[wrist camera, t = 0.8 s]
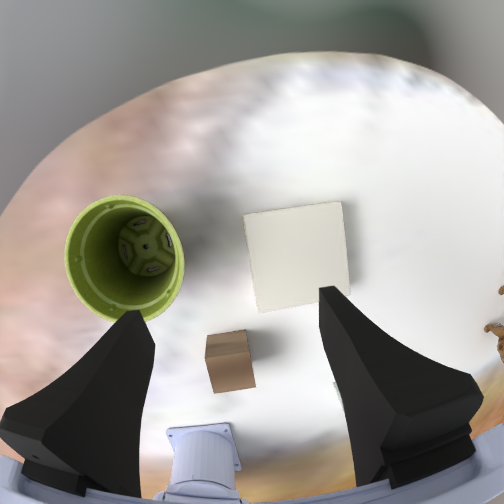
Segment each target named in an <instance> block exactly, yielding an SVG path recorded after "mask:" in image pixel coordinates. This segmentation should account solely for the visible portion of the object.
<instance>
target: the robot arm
mask: <svg viewBox="0 0 504 504" xmlns="http://www.w3.org/2000/svg"><path fill="white" fill-rule="evenodd" d="M319 328H320V333H321V337H322V342H323V346H324V350H325V353H326V355H327V358H328V361H329V364H330V367H331V370H332V372H333V375H334V378H335V381H336V384H337V387H338V389H339V392H340V396H341V399H342V403H343V408H344V412H345V417H346V422H347V427H348V432H349V437H350V443H351V449H352V455H353V462H354V469H355V477H356V486H357V487H356V488H352V489H348V490H343V491H338V492H334V493H329V494H323V495H318V496H312V497H305V498H298V499H291V500H282V501H272V502H260V503H249V502H248V501H247V500H246V499H239V491H238V490H236V483H235V471H240V470H242V467H241V464H240V460H239V457H238V454H237V450H236V447H235V443H234V440H233V437H232V433H231V429H230V426H229V424H226V423H224V424H216V425H207V426H197V427H186V428H171V429H167V430H166V435H167V437H168V439H169V442H170V444H171V446H172V448H173V450H174V460H173V466H172V473H171V480H170V484H168V485H167V491H166V493H165V492H164V491H159V492H158V493H157V494H156V495H154V497H153V500H149V499H142V498H141V488H140V475H139V445H140V429H141V418H142V412H143V407H144V403H145V399H146V394H147V390H148V386H149V382H150V378H151V373H152V369H153V364H154V355H155V343H154V341H153V339H152V336H151V334H150V332H149V330H148V328H147V326H146V323H145V321H144V319H143V317H142V314H141V312H140V310H132V311H126V312H125V313H124V314H123V315H122V316H121V317H120V318H119V319H118V320H117V321H116V322H115V323H114V324H113V325H112V327H111V328H110V329H109V330H108V331H107V332H106V333H105V334H104V335H103V336H102V337H101V338H100V340H99V341H98V342H97V343H96V344H95V345H94V346H93V347H92V348H91V349H90V350H89V351H88V352H87V353H86V354H85V355H84V356H83V357H82V358H81V359H80V360H79V361H78V362H77V363H76V364H75V365H73V366H72V367H71V368H70V369H69V370H68V371H66V372H65V373H64V374H63V375H62V376H60V377H59V378H57V379H56V380H55V381H53V382H52V383H51V384H49V385H48V386H46V387H45V388H43V389H42V390H40V391H39V392H37V393H35V394H34V395H32V396H30V397H28V398H27V399H25V400H23V401H21V402H19V403H16V404H14V405H12V406H10V407H8V408H6V410H5V412H4V414H3V417H2V419H1V421H0V438H1V439H2V440H3V441H4V442H5V443H6V444H7V445H9V446H10V447H11V448H12V449H13V450H15V451H16V452H17V453H18V454H20V455H21V456H22V457H23V458H25V461H24V464H23V463H21V462H19V461H17V460H15V459H12V458H10V457H7V456H5V455H1V457H0V504H485V503H486V502H488V501H490V500H491V499H493V498H494V497H496V496H498V495H499V494H501V493H502V492H504V424H503V423H500V424H499V425H497V426H495V427H493V428H492V429H490V430H488V431H486V432H484V433H482V434H481V435H479V436H477V437H476V438H474V439H473V440H471V438H470V436H469V434H470V433H471V432H472V429H471V427H470V425H469V421H470V420H471V419H472V417H473V416H474V415H475V413H476V412H477V411H478V409H479V408H480V406H481V404H482V402H483V398H484V396H483V394H482V392H481V391H480V389H479V387H478V385H477V383H476V382H475V380H474V379H473V377H472V376H471V374H468V373H465V372H462V371H459V370H456V369H453V368H450V367H447V366H445V365H442V364H440V363H438V362H435V361H433V360H431V359H429V358H427V357H425V356H423V355H421V354H419V353H417V352H415V351H413V350H412V349H410V348H408V347H406V346H405V345H403V344H402V343H400V342H399V341H397V340H396V339H394V338H393V337H391V336H390V335H388V334H387V333H386V332H384V331H383V330H382V329H380V328H379V327H378V326H377V325H376V324H374V323H373V322H372V321H371V320H370V319H368V318H367V317H366V316H365V315H364V314H363V313H362V312H361V311H360V310H359V309H358V308H356V307H355V306H354V305H353V304H352V303H351V302H350V301H349V300H348V299H347V298H346V297H345V296H344V295H343V294H342V293H341V291H340V290H339V289H338V288H337V287H335V286H334V285H333V286H327V287H321V288H319ZM225 429H227V430H225Z"/></svg>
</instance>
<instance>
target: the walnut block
mask: <svg viewBox="0 0 504 504" xmlns="http://www.w3.org/2000/svg"><path fill="white" fill-rule="evenodd" d="M205 361H206V365H207V369H208V373H209V377H210V381H211V384H212V388H213V392H214V394H215V393H222V392H229V391H236V390H242V389H248V388H254V387H256V384H255V379H254V374H253V368H252V363H251V357H250V352H249V346H248V341H247V336H246V330H239V331H233V332H227V333H221V334H214V335H208V336H207V341H206V351H205Z"/></svg>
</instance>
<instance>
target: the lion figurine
mask: <svg viewBox="0 0 504 504" xmlns="http://www.w3.org/2000/svg"><path fill="white" fill-rule="evenodd" d="M499 294H500V295H503V294H504V286H503V287H501V288H500V289H499ZM484 331H485V332H486V333H488V332H489V331H492V332H493V333H494V334H495V335H496V336H498V337H499V340H498V345H497V348H498V352H499V354H500V357H501V360H502V362H503V363H504V326H503V325H501V324H500V323H499V324H498V323H497V324H495V326H494V325H487V326H486V327H485V328H484Z"/></svg>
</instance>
